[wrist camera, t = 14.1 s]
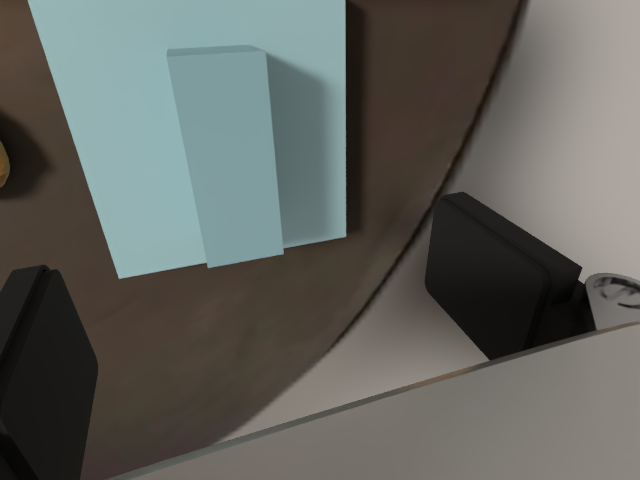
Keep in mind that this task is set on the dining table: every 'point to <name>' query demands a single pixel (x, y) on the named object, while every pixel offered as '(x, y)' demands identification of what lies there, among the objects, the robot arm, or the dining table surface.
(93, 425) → the dining table surface
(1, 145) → the pastry
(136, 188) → the lid
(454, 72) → the dining table surface
